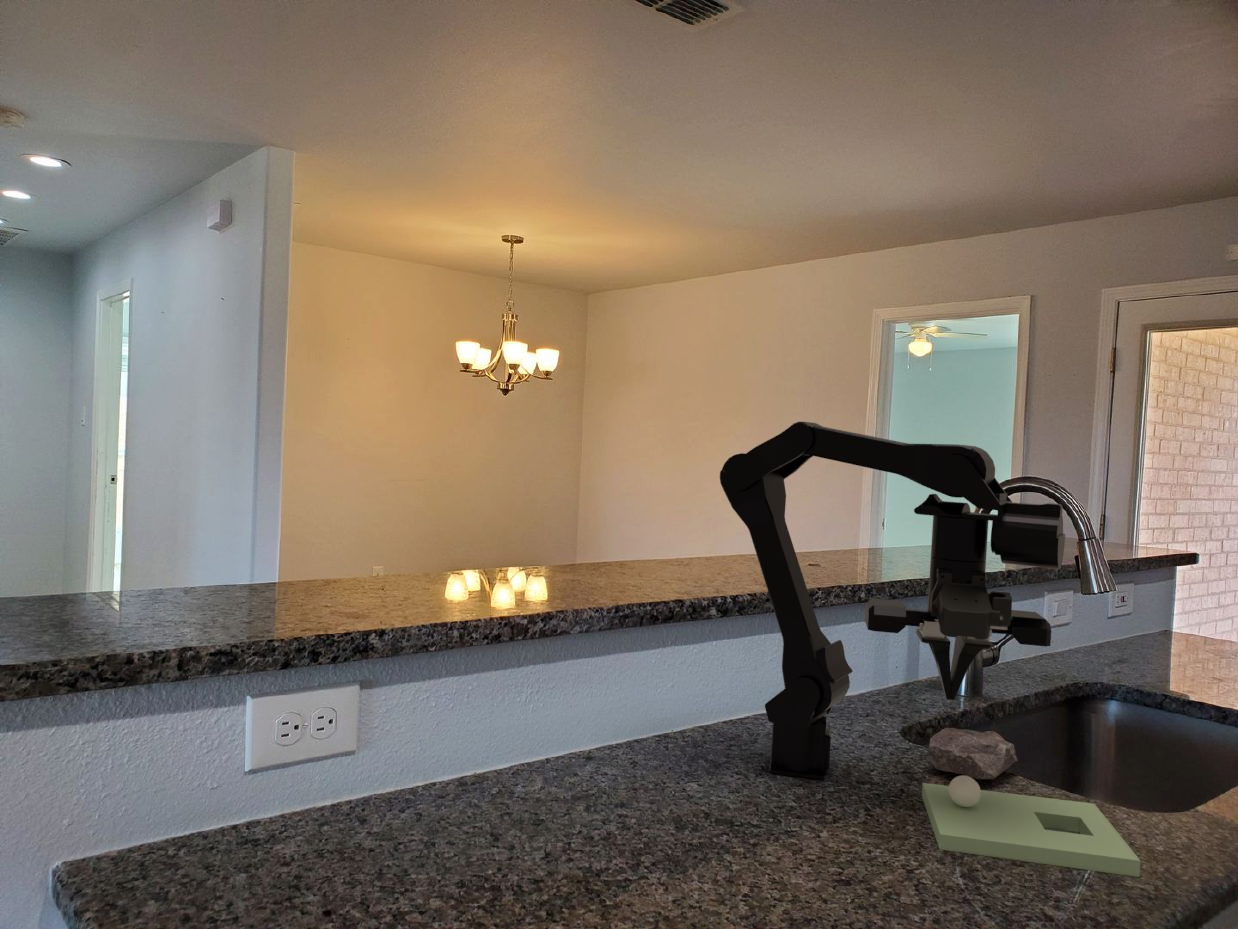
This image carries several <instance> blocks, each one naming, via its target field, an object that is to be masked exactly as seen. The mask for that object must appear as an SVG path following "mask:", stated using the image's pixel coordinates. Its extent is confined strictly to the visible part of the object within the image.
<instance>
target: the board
mask: <svg viewBox="0 0 1238 929" xmlns="http://www.w3.org/2000/svg"><path fill="white" fill-rule="evenodd" d="M921 785H922V786H921V787H922V788H921V798H922V800H923V805H924V807H925V809H926V812H927V816H928V819H929V822H930V825H931V828H932V831H933V833H934V837H935V840H936V843H937V846H938V849H939V850H943V851H950V852H958V853H965V854H970V855H980V856H985V857H994V858H1000V859H1005V860H1015V861H1022V862H1030V863H1036V864H1043V865H1048V866H1049V865H1050V866H1057V867H1064V868H1072V869H1079V870H1086V871H1091V872H1092V871H1094V872H1100V873H1108V874H1114V875H1115V874H1116V875H1122V876H1129V877H1137V878H1140V873H1141V859H1140V858H1139V857H1138V856H1137V854H1136V853H1135V852H1134V850H1132V848H1131V847H1130V846H1129V845H1128V843H1127V842H1126V841H1125V839H1123V837H1122V836H1121V835H1120V834H1119V832H1118V831H1117V830H1116V828H1115V827H1114V826H1113V825H1112V823H1111V822H1110V821H1109V819H1107V817H1106V816H1105V815H1104V814H1103V813H1102V812H1101V810H1100V809H1099V808H1098V806H1097V805H1096V804H1095V803H1090V802H1082V801H1074V800H1065V799H1057V798H1051V797H1044V796H1043V797H1041V796H1034V795H1026V794H1018V793H1010V792H1009V793H1008V792H1000V791H991V790H986V789H985V790H984V789H980V790H981V797H980V800H979V801H978V803H977V804H976V805H974V806H972V807H962V806H959V805H957V804H956V803H955V802H954V801H953V800H952V799H951V797H950V794H949V785H943V784H936V783H926V782H922V784H921Z"/></svg>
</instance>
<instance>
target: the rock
mask: <svg viewBox="0 0 1238 929" xmlns="http://www.w3.org/2000/svg"><path fill="white" fill-rule="evenodd" d="M928 754H929V756H930V759H931V762H932V766H934V768H935V769H936V770H937V771H942V772H947V773H955V774H961V775H962V776H963V775H964V776H969V777H971V778H973V779H976V780H995V779H996V778H997V777H998V776H1000V775H1001V774H1002V773H1003V772H1004V771H1006V770H1008V769H1009V768H1010V767H1011V766H1012V764H1013V763H1016V762H1018V761H1019V760H1018V758H1017V755H1016V749H1015V744H1013V743H1011V742H1008V740H1007V741H1006V740H1005V738H1003V737H1002V736H1001V735H1000V734H999V733H997V732H995V731H994V730H993V731H990V730H988V731H983V732H980V731H976V730H972V729H959V728H955V727H951V728H950V727H946V728H942V729H941V731H938V732H937V733H936V734H934V735H932V736H931V737H930V740H929V746H928Z"/></svg>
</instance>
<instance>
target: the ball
mask: <svg viewBox="0 0 1238 929" xmlns="http://www.w3.org/2000/svg"><path fill="white" fill-rule="evenodd" d="M948 786H949V794H950V797H951V799H952V800H953V801H954V802H955V803H956V804H957V805H959V806H962V807H972V806H974V805H976V804H977V803H978V801H979V800H980V797H981V790H982V789H981V787H980V784H979V783H978V782H977V781H976V780H975V778H973V777H970V776H965V775H963V774H962V775H958V776H955V777H954V778H952V780H951V781H950V783H949V785H948Z"/></svg>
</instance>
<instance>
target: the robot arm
mask: <svg viewBox="0 0 1238 929" xmlns="http://www.w3.org/2000/svg"><path fill="white" fill-rule="evenodd" d="M813 457H817V458H820V459H821V458H823V459H825V460H830V461H834V462H840V463H845V464H848V465H849V464H850V465H855V466H858V467H864V468H867V469H872V470H876V471H881V472H885V473H886V472H887V473H892V474H896V475H899V476H901V477H903V478H906V479H909V480H911V481H912V482H915V483H917V484H918V485H921V486H923V487H925V488H928V489H930V490H933V491H935V492H938V493H939V494H943V495H944V496H948V497H950V498H960V499H961V498H964V500H967V502H960V501H958V502H957V501H948V500H947V501H945V500H942V499H941V498H940V497H939V494H937V493H931V494H928V496H927V497H926V499H925V500H924V501H923V502H922V503H921V504H919V505H918V506H916V507H915V508H914V510H913V512H914V514H916V515H921V516H923V515H924V516H932V529H931V532H932V533H931V547H930V564H929V566H930V567H929V577H928V578H929V581H928V595H927V596H928V598H927V610H925V609H912V608H906V605H905V604H904V602H903V601H902V600H896V599H895V600H894V599H882V598H870V599H869V600H868V601H867V602H866V604H865V616H864V622H865V626H866V629H867V630H868V631H872V632H878V633H891V634H899V633H900V632H901V631H902V630H904V629H905V628H906V626H908V627H917V628H916V632H915V634H916V636H917V637H918V638H919V640H920V642H921V643H924V644H928V646H929V648H930V650H931V652H932V656H933V658H934V662H935V664H936V668H937V672H938V676H939V679H940V684H941V687H942V691H943V694H944V697H945V699H946V700H950V701H955V699H956V696H957V694H958V691H959V690H960V687H961V685H962V683H963V681H964V678H965V676H966V674H967V672H968V670H969V668H970V666H971V664H972V663H973V661H974V660H975V658H976V657H977V655H978V654H980V652H981V651H982V650H984V649H985V650H986V649H987V650H991V649H992V648H993V643H992V642H991V640H990V639H991V638H990V637H992V634H1000V635H1010V636H1012V637H1013V638H1014V640H1015V641H1017V643H1018V644H1019V645H1024V646H1027V645H1028V646H1037V647H1051V641H1052V627H1051V623H1050V622H1049V621H1048V620H1047V619H1046V618H1045V617H1043V616H1041V615H1040V614H1039V613H1038V612H1036V611H1030V610H1029V611H1028V610H1018V609H1017V610H1016V609H1015V610H1014V609H1012V608H1013V607H1012V606H1013V598H1012V596H1011V593H1010V592H1008V591H1007V592H1003V591H994V590H993V591H990V593H989V592H988V590H987V587H986V586H987V585H986V582H987V581H986V573H987V572H986V569H987V568H986V566H987V565H986V564H987V550H988V535H989V533H988V532H989V521H991V522H992V523H991V530H990V531H991V532H990V549H991V553H993V554H995V556H1000V562H1001V563H1002V564H1007V565H1016V566H1017V565H1018V566H1026V567H1035V568H1045V569H1053V570H1060V569H1061V568H1062V564H1063V560H1064V555H1065V554H1064V552H1065V545H1066V544H1065V542H1066V541H1065V540H1066V533H1064V518H1063V508H1064V507H1063V505H1062V504H1061V503H1050V502H1049V503H1043V504H1039V503H1024V502H1013V501H1012V500H1011V498H1010V496H1009V495H1008V493H1007V492H1006V491H1005V490H1004V489H1003V487H1002V486H1001V484H1000V483H999V482H998V479H997V478H996V467H995V463H994V460H993V459H992V456H991V455H990V454H989V453H988V452H987V451H986V450H984V449H983V448H981V447H978V446H976V445H966V444H965V445H964V444H946V443H945V444H944V443H909V442H902V441H898V440H897V441H896V440H893V439H888V438H883V437H882V438H881V437H877V436H871V435H867V434H862V433H857V432H852V431H848V430H847V431H846V430H842V429H835V428H832V427H826V426H822V425H820V424H819V423H817V422H809V421H797V422H794V423H792V424H791V425H790V426H789V427H787V428H786V429H785V430H783V431H782V432H780V433H779V434H777V435H776V436H774V437H772V438H770V439H767V440H765V441H764V442H762V443H760V444H757V445H756V446H755V447H753V448H752V449H750V450H748V451H747V452H746V453H743V452H742V453H737V454H734V455H732V456H730V457H729V458H728V459H727V460H726V461H725V462H724V464H723V466H722V468H721V470H720V472H719V480H720V485H721V488H722V490H723V492H724V494H725V497H726V498H727V501H728V503H729V504H730V506H731V508H732V509H733V511H734V512H735V514H737V516H738V518H740V520H741V521H742V522H743V524H744V525H745V526H746V528H747V529H748V532H749V535H750V537H751V541H752V544H753V547H754V551H755V554H756V557H757V560H758V563H759V567H760V569H761V573H762V576H763V580H764V583H765V586H766V590H767V593H768V595H769V599H770V602H771V605H772V609H773V611H774V615H775V617H776V620H777V624H778V628H779V631H780V634H781V637H782V642H783V644H782V656H781V658H782V659H781V661H782V662H781V670H782V671H781V672H782V678H783V684H784V689H783V690H781V691H780V692H778V693H777V694H776V695H774V697H772V698H771V699H769V700H768V701H766V703H765V704H764V708H765V711H766V712H765V713H766V715H767V720H768V722H769V723H772V733H771V738H772V739H771V749H770V750H771V752H770V760H769V766H768V767H769V768H768V773H770V774H775V775H780V776H781V775H782V776H790V777H798V778H799V777H800V778H806V779H813V780H822V781H823V780H826V771H829V769H830V762H831V760H830V757H831V741H832V735H831V730H830V729H827V717H826V716H827V715H829V714H830V713H831V711H832V710H833V707H834V705H836V704H838V703H839V702H841V701H842V700H843V699H844V698H845V697H846V695H847V694H848V691H849V689H850V684H851V681H850V677H849V675H851V674H852V673H853V671H854V670H853V669H852V667H851V666H850V665H849V663H848V661H847V659H846V656H845V649H844V644H843V642H842V640H841V639H839V640H836V641H833V642H830V640H829V639H828V637H826V635H825V633H823V632H822V630H821V628H820V625H819V622H818V619H817V616H816V612H815V610H814V607H813V604H812V600H811V596H810V594H809V590H808V588H807V585H806V582H805V578H804V576H803V571H802V570H801V566H800V563H799V559H798V556H797V554H796V551H795V550H796V549H795V547H794V544H793V541H792V538H791V534H790V531H789V528H788V525H787V522H786V506H787V504H786V501H787V493H786V486H785V479H788V477H790V476H791V475H793V474H795V473H796V472H797V471H798V470H799V469H800V468H802V466H803V465H805V463H807V462H808V461H809V460H810V459H811V458H813ZM968 502H969V503H970V504H972V505H973V506H974V507H975V508H978V509H979V510H990V511H997V514H994V513H993V514H991V513H982V512H972V511H971V507H970V505H969V503H968ZM949 638H955V639H954V646H953V653H952V658H950V657H951V656H950V653H951V652H950V650H951V640H950V639H949ZM951 659H952V660H951ZM950 660H951V661H950Z"/></svg>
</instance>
